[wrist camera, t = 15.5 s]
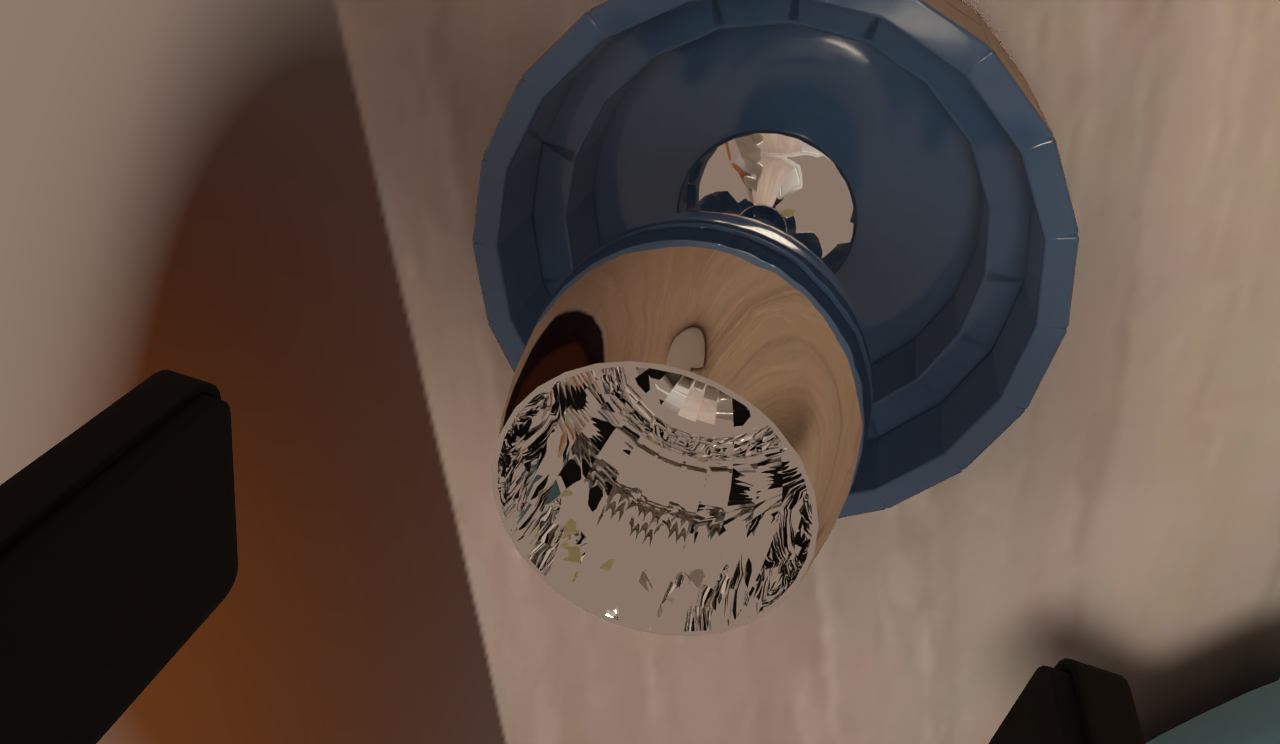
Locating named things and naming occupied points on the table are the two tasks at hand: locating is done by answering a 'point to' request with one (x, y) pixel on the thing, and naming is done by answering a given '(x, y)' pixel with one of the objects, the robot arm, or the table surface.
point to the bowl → (871, 158)
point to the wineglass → (695, 399)
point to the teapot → (1233, 721)
